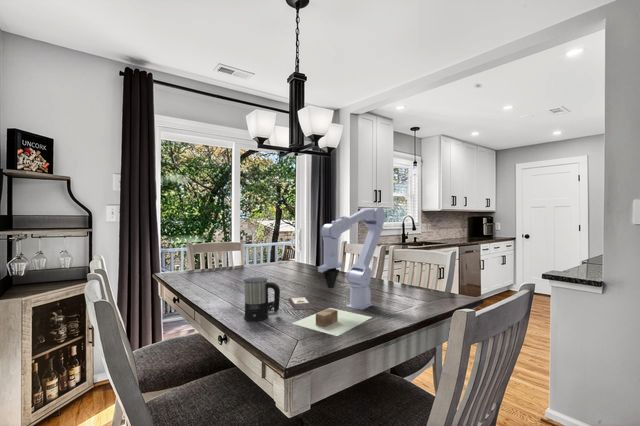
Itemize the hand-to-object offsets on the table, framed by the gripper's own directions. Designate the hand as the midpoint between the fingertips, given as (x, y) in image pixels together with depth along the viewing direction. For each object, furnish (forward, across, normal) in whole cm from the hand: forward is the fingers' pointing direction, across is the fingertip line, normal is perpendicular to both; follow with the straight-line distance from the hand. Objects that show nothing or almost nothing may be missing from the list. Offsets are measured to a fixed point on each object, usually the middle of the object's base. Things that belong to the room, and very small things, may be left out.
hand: (330, 287), depth 131 cm
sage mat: (+10, -7, -6) cm, 14 cm away
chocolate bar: (+11, +3, +18) cm, 21 cm away
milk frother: (+11, -18, +22) cm, 30 cm away
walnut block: (+8, -7, -6) cm, 12 cm away
